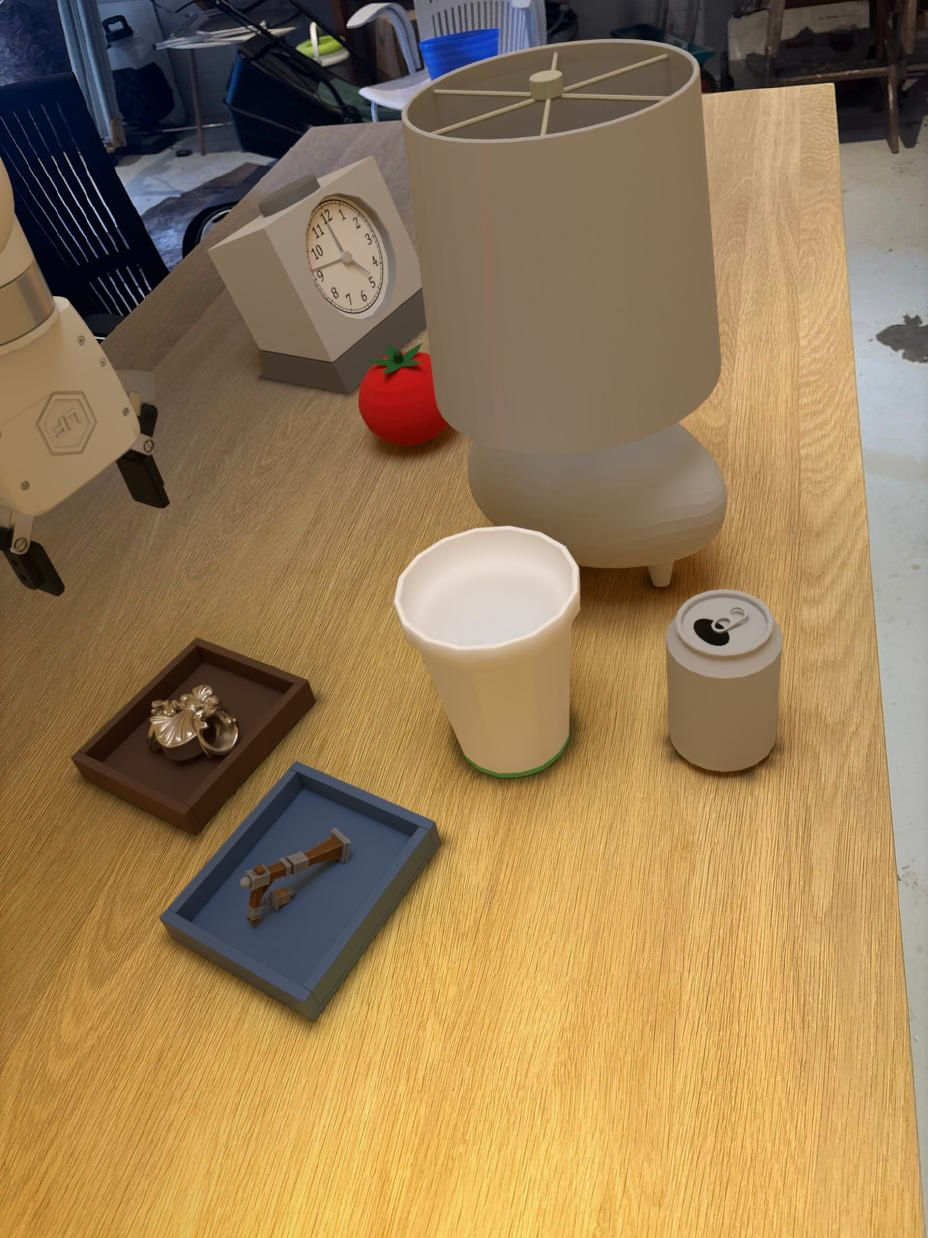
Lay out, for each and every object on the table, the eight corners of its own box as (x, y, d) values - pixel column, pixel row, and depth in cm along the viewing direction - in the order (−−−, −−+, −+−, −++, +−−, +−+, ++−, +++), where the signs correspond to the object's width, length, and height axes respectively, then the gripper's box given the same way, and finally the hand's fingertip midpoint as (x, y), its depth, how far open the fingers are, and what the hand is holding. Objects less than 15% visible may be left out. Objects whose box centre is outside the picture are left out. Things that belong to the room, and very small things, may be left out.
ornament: (260, 708, 83) (247, 677, 81) (224, 775, 79) (209, 744, 76) (174, 699, 86) (159, 668, 83) (135, 763, 81) (117, 733, 79)
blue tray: (314, 1022, 63) (303, 1002, 62) (171, 938, 70) (158, 917, 68) (441, 843, 72) (435, 821, 70) (304, 781, 78) (295, 760, 76)
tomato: (479, 414, 112) (464, 331, 105) (438, 469, 106) (420, 384, 99) (395, 405, 116) (377, 324, 110) (351, 458, 110) (328, 375, 103)
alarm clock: (348, 394, 120) (303, 223, 106) (248, 374, 127) (194, 212, 114) (441, 312, 132) (411, 148, 118) (344, 298, 139) (305, 143, 126)
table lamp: (772, 525, 91) (799, 20, 64) (662, 688, 79) (639, 151, 52) (549, 470, 102) (493, 23, 76) (424, 605, 90) (305, 130, 64)
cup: (500, 654, 84) (471, 505, 74) (629, 713, 78) (617, 558, 67) (400, 755, 78) (354, 607, 68) (531, 829, 71) (502, 677, 61)
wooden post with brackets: (230, 919, 68) (234, 866, 66) (328, 875, 73) (335, 824, 71) (245, 936, 67) (249, 882, 65) (344, 890, 72) (350, 839, 70)
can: (648, 728, 76) (642, 610, 68) (730, 685, 78) (734, 565, 70) (711, 796, 71) (712, 677, 63) (798, 748, 73) (810, 626, 65)
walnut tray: (195, 836, 76) (183, 815, 74) (83, 778, 82) (69, 757, 80) (316, 701, 84) (308, 679, 82) (206, 657, 90) (196, 636, 88)
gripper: (-110, 397, 51) (40, 642, 62) (137, 247, 61) (227, 483, 72) (-189, 375, 55) (-34, 610, 66) (55, 237, 64) (153, 463, 76)
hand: (102, 544), depth 69 cm, fingers open, 9 cm apart
